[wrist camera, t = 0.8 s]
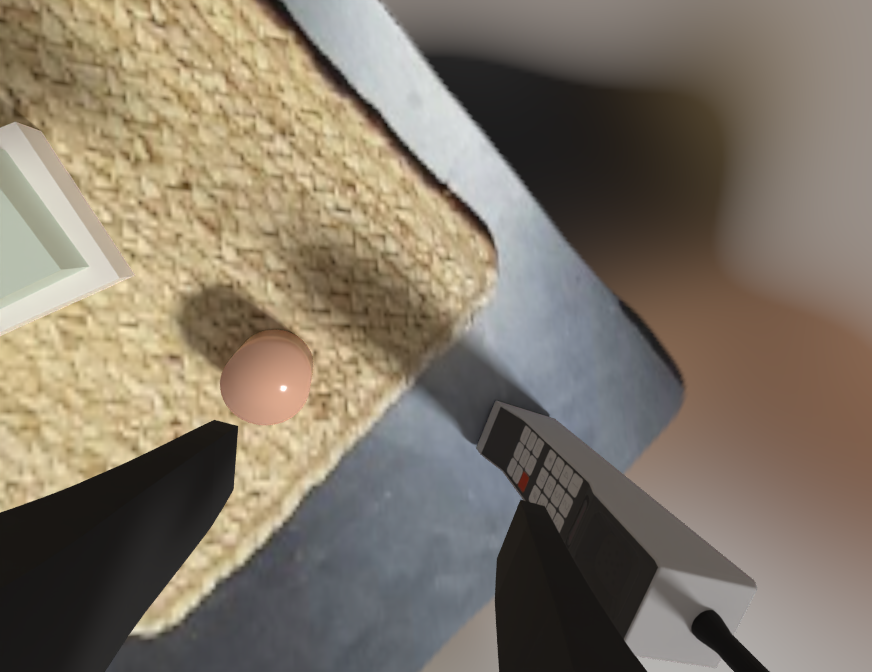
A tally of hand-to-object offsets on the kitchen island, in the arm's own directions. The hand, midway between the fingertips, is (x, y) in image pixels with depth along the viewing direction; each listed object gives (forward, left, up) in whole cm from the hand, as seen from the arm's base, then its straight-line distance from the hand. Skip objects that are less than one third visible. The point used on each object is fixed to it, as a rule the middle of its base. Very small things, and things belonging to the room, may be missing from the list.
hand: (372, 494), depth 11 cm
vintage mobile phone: (+7, -11, -18) cm, 23 cm away
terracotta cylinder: (-5, +1, -18) cm, 18 cm away
